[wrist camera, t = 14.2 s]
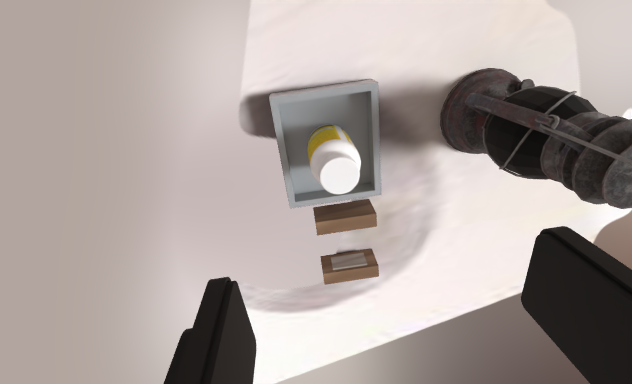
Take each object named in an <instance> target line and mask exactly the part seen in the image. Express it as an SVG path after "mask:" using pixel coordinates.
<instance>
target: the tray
mask: <svg viewBox="0 0 632 384" xmlns="http://www.w3.org/2000/svg"><path fill="white" fill-rule="evenodd" d="M269 101H270V106H271V111H272V116H273V122H274V127H275V132H276V137H277V142H278V148H279V153H280V158H281V164H282V168H283V174H284V180H285V184H286V190H287V195H288V201H289V206H290V208H296V207H303V206H310V205H317V204H323V203H330V202H337V201H343V200H350V199H357V198H364V197H370V196H377V195H381V166H380V132H379V98H378V82H377V81H375V80H372V79H368V80H361V81H354V82H347V83H340V84H333V85H326V86H319V87H312V88H305V89H298V90H291V91H284V92H277V93H270V96H269ZM325 124H334V125H337V126H339V127H341V128H342V129H343V130H345V132H346V133H347V134H348V136H349V138H350V139H351V141H352V143H353V144H354V146H355V148H356V149H357V151H358V153H359V156H360V160H361V167H360V178H359V181H358V183H357V185H356V186H355V187H354V188H353V189H352V190H351V191H349V192H347V193H344V194H333V193H330V192H328V191H327V190H325V189H324V188H323V186H322V185H321V184H320V183H319V182H317V181H316V179H315V178H314V176H313V174H312V172H311V168H310V163H309V157H308V151H307V142H308V139H309V136H310V135H311V133H312V132H313V131H314V130H315V129H316V128H318V127H319V126H322V125H325Z"/></svg>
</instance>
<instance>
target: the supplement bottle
mask: <svg viewBox="0 0 632 384" xmlns="http://www.w3.org/2000/svg"><path fill="white" fill-rule="evenodd" d="M307 151H308V157H309V163H310V168H311V172H312V174H313V176H314V178H315V179H316V181H317V182H319V183H320V184H321V185H322V186H323V188H324V189H325V190H327V191H328V192H330V193H333V194H344V193H347V192H349V191H351V190H352V189H353V188H354V187H355V186H356V185H357V183H358V181H359V178H360V167H361V160H360V156H359V153H358V151H357V149H356V148H355V146H354V144H353V143H352V141H351V139H350V138H349V136H348V134H347V133H346V132H345V130H343V129H342V128H341V127H339V126H337V125H334V124H325V125H322V126H319V127H318V128H316V129H315V130H314V131H313V132H312V133H311V135H310V136H309V139H308V142H307Z"/></svg>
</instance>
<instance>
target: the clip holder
mask: <svg viewBox="0 0 632 384" xmlns="http://www.w3.org/2000/svg"><path fill="white" fill-rule="evenodd" d="M313 209H314V216H315V222H316V229H317V235H323V234H330V233H336V232H343V231H350V230H356V229H363V228H370V227H376V226H377V219H376V212H375V210H374V208H373V206H372V204H371V202H370V200H369V199H367V200H361V201H354V202H348V203H341V204H334V205H327V206H321V207H314V208H313ZM321 262H322V269H323V276H324V283H325V284H332V283H338V282H345V281H352V280H358V279H365V278H371V277H378V276H379V270H378V264H377V261H376V259H375V256H374V254H373V251H372V249H366V250H360V251H353V252H346V253H340V254H334V255H326V256H321Z"/></svg>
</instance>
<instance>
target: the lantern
mask: <svg viewBox="0 0 632 384" xmlns="http://www.w3.org/2000/svg"><path fill="white" fill-rule="evenodd" d="M575 93H576V91H573V92H571V93H570V92H567V91H564V90H561V89H559V88H555V87H547V86H537V87H535V85H534V83H533V81H532V80H530V79H526V80H523V81H522V82H521V81H520V80H519V79H518V78H517V77H516V76H514V75H513V74H511V73H509V72H507V71H505V70H503V69H495V68H488V69H483V70H479V71H477V72H474V73H472V74H470V75H468V76H467V77H465V78H464V79H463V80H461V81H460V82H459V83H458V84H457V85H456V86H455V87H454V89H453V90H452V91H451V92H450V94H449V95H448V97H447V99H446V101H445V103H444V106H443V109H442V113H441V129H442V133H443V136H444V137H445V139H446V141H447V142H448V143H449V144H450V145H451V146H452V147H453V148H455V149H457V150H459V151H462V152H467V153H472V154H481V153H484V154H488V155H489V156H490V158H491V159H492V160H493V161H494V163H496V164H497V165H498V166H499V167H500V168H499V169H503V170H504V171H506V172H508V173H510V174H513V175H515V176H518V177H523V178H527V179H545V180H546V179H551V180H554V181H558V182H561V183H562V184H563V185H564V186H565V187H566V188H568V189H570V190H572V191H574V192H575V193H576V194H577V195H578V196H579V198H580V199H581V200H583V201H586V202H590V203H593V204H605V203H608V204H609V205H610V206H614V207H617V208H620V209H626V208H632V119H630V120H628V119H626V118H623V117H618V116H613V117H609V116H607V115H604V114H602V113H599V112H598V111H597V110H596V109H595V108H594V107H593V106H592V105H591V103H590V102H589V101H588V100H586V99H583V98H581V97H579V96H577V95H574V94H575ZM502 166H503V167H502ZM505 168H506V169H505ZM507 169H508V170H507ZM509 170H510V171H509ZM511 171H513V172H515V173H518V174H520V175H518V174H515V173H513V172H511Z"/></svg>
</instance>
